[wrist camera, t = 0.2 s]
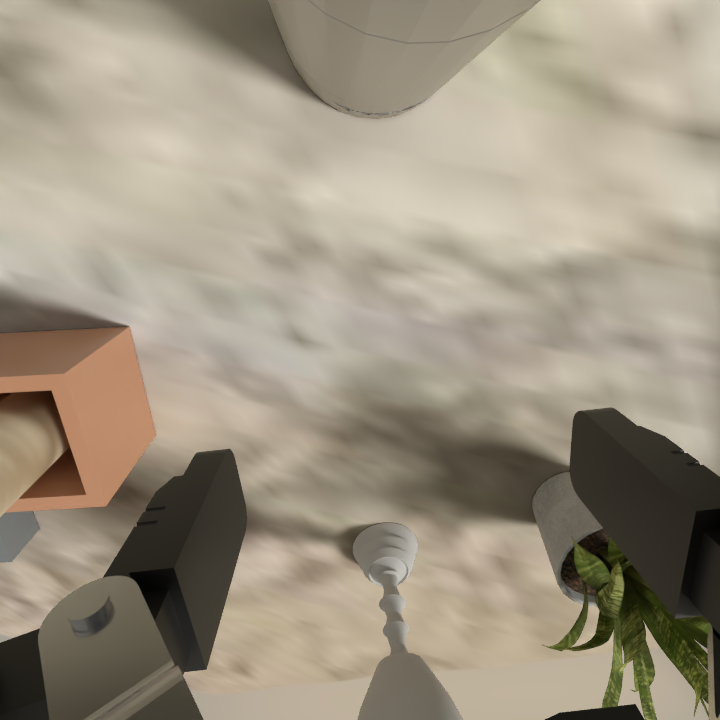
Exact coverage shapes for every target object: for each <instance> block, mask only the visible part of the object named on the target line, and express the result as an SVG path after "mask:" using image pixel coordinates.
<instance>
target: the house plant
mask: <svg viewBox="0 0 720 720" xmlns="http://www.w3.org/2000/svg"><path fill="white" fill-rule="evenodd" d="M532 508H533V513H534V516H535V519H536V522H537V525H538V528H539V530H540V533H541V536H542V539H543V542H544V545H545V548H546V551H547V554H548V557H549V560H550V562H551V565H552V568H553V571H554V574H555V577H556V580H557V583H558V585H559V587H560V588H561V590H562V592H563V593H564V594H565V595H566V596H568V597H569V598H570V599H571V600H573V601H575V602H578V603H580V604H583V609H582V611H581V613H580V615H579V617H578V619H577V621H576V623H575V625H574V626H573V627H572V629H571V630H570V632H569V633H568V634H567V635H566V636H565V637H564V638H563V639H562V640H561V641H560V642H559V643H558V644H556V645H553V646H550V647H548V646H546V647H548V648H551V649H555V650H559V651H563V650H565V649H566V650H572V651H581V650H586V649H590V648H594V647H597V646H600V645H602V644H604V643H605V642H607V641H608V640H609V638H610V636H611V635H612V632H613V629H614V645H613V662H612V670H611V674H610V678H609V683H608V686H607V689H606V692H605V696H604V699H603V703H602V708H606V707H615V706H617V705H618V701H619V697H620V693H621V688H622V677H623V669H624V668H625V666H626V665H627V663H629V662H630V661H632V660H633V666H634V682H635V688H636V691H638V690H639V693H640V699H641V704H642V709H643V714H644V717H645V720H657V718H656V714H655V710H654V706H653V702H652V698H651V693H650V688H649V686H650V685H651V683H652V682H653V680H654V676H655V670H654V664H653V661H652V657H651V655H650V651H649V648H648V645H647V642H646V630H645V625H644V622H645V624H646V625H647V627H648V629H649V630H650V632H651V634H652V635H653V637H654V639H655V640H656V642H657V643H658V645H659V646H660V647H661V649H662V650H663V651H664V653H665V654H666V655H667V657H668V658H669V659H670V660H671V662H672V663H673V664H674V665H675V666H676V668H677V669H678V670H679V671H680V672H681V674H682V675H683V676H684V677H685V679H686V680H687V681H688V683H689V684H690V685H691V686H692V688H693V689H694V690H695V693H696V706H695V711H694V715H695V712H696V709H697V706H698V703H699V699H700V700H701V702H702V704H703V706H704V708H705V710H706V712H707V715H708V717H709V713H708V711H707V708H706V706H705V704H704V701H703V699H704V700H705V701H706V702H707V703H708V704H709V701H708V672H707V671H706V670H705V669H704V667H705V668H706V669H707V670H708V654H707V653H706V652H705V651H704V650H703V649H702V648H701V647H700V645H699V644H698V643H697V642H699V643H700V644H701V645H703V646H704V647H706V648H707V649H708V645H707V639H708V633H709V629H710V623H709V622H708V621H707V620H706V618H705V617H704V616H695V617H687V618H678V619H675V618H674V617H673V616H672V615H671V613H670V612H669V611H668V610H667V608H666V607H665V606H664V604H663V603H662V602H661V601H660V599H659V598H658V597H657V596H656V594H655V593H654V592H653V591H652V589H651V588H650V587H649V586H648V584H647V583H646V582H645V581H644V579H643V578H642V577H641V575H640V574H639V573H638V572H637V570H636V569H635V568H634V567H633V565H632V564H631V563H630V562H629V560H628V559H627V558H626V557H625V555H624V554H623V553H622V551H621V550H620V549H619V548H618V546H617V545H616V544H615V543H614V541H613V540H612V539H611V538H610V536H609V535H608V534H607V533H606V531H605V530H604V529H603V527H602V526H601V525H600V524H599V522H598V521H597V520H596V519H595V517H594V516H593V515H592V514H591V512H590V511H589V510H588V509H587V507H586V506H585V505H584V504H583V502H582V501H581V500H580V498H579V497H578V496H577V494H576V492H575V490H574V488H573V486H572V482H571V478H570V472H564V473H561V474H557V475H555V476H553V477H551V478H549V479H548V480H547V481H545V482H544V483H543V484H542V485H541V486H540V487H539V488H538V490H537V491H536V493H535V495H534V497H533V502H532ZM588 606H596V607H598V608H599V610H600V613H599V619H598V624H597V629H596V634H595V635H594V637H593V638H592V639H591V640H590V641H588V642H587V643H585V644H582V645H580V646H576V647H571V646H572V645H574V644H575V643H576V641H577V640H578V638H579V637H580V635H581V633H582V630H583V628H584V625H585V622H586V619H587V613H588ZM643 620H644V622H643ZM694 639H695V640H696V641H697V642H696V641H695V640H694ZM541 645H542V644H541ZM544 646H545V645H544ZM622 646H623V650H624V664H622ZM570 647H571V648H570ZM693 654H694V655H693ZM695 657H696V658H697V659H698V660H699V661H700V662H701V664H702V665H703V666H704V667H703V666H702V665H701V664H700V663H699V661H698V660H697V659H696V658H695ZM632 691H634V690H632ZM636 691H634V692H636ZM702 698H703V699H702Z"/></svg>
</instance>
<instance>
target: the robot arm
mask: <svg viewBox="0 0 720 720" xmlns="http://www.w3.org/2000/svg"><path fill="white" fill-rule="evenodd" d="M539 1H540V0H268V2H269V5H270V8H271V10H272V13H273V15H274V18H275V21H276V24H277V26H278V29H279V31H280V34H281V37H282V39H283V42H284V44H285V47H286V49H287V51H288V54H289V56H290V58H291V60H292V62H293V64H294V67H295V69H296V70H297V72H298V73H299V75H300V76H301V77H302V79H303V80H304V82H305V83H306V84H307V86H308V87H309V88H310V89H311V90H312V91H313V92H314V93H315V94H316V95H317V96H318V97H319V98H320V99H322V100H323V101H324V102H325V103H327V104H329V105H330V106H332V107H334V108H335V109H337V110H339V111H340V112H343V113H347V114H350V115H353V116H356V117H360V118H372V119H379V118H386V117H392V116H397V115H399V114H401V113H404V112H406V111H409V110H411V109H413V108H415V107H416V106H418V105H419V104H421V103H423V102H424V101H425V100H426V99H428V98H429V97H430V96H431V95H433V94H434V93H435V92H436V91H437V90H438V89H439V88H441V87H442V86H443V85H444V84H446V83H447V82H448V81H449V80H450V79H451V78H452V77H454V76H455V75H456V74H457V73H458V72H459V71H460V70H462V69H463V68H464V67H465V66H466V65H467V64H468V63H470V62H471V61H472V60H473V59H474V58H475V57H476V56H478V55H479V54H480V53H481V52H482V51H483V50H484V49H485V48H487V47H488V46H489V45H490V44H491V43H492V42H493V41H495V40H496V39H497V38H498V37H499V36H500V35H501V34H503V33H504V32H505V31H506V30H507V29H508V28H509V27H510V26H512V25H513V24H514V23H515V22H516V21H517V20H518V19H520V18H521V17H522V16H523V15H524V14H525V13H526V12H528V11H529V10H530V9H531V8H532V7H533V6H534V5H535V4H537V3H538V2H539ZM570 478H571V482H572V486H573V488H574V490H575V492H576V494H577V496H578V497H579V498H580V500H581V501H582V502H583V504H584V505H585V506H586V507H587V509H588V510H589V511H590V512H591V514H592V515H593V516H594V517H595V519H596V520H597V521H598V522H599V524H600V525H601V526H602V527H603V529H604V530H605V531H606V533H607V534H608V535H609V536H610V538H611V539H612V540H613V541H614V543H615V544H616V545H617V546H618V548H619V549H620V550H621V551H622V553H623V554H624V555H625V557H626V558H627V559H628V560H629V562H630V563H631V564H632V565H633V567H634V568H635V569H636V570H637V572H638V573H639V574H640V575H641V577H642V578H643V579H644V581H645V582H646V583H647V584H648V586H649V587H650V588H651V589H652V591H653V592H654V593H655V594H656V596H657V597H658V598H659V599H660V601H661V602H662V603H663V604H664V606H665V607H666V608H667V610H668V611H669V612H670V613H671V615H672V616H673V617H674V618H675V619H678V618H687V617H695V616H704V617H705V618H706V620H707V621H708V622H709V623H710V629H709V633H708V639H707V645H708V701H709V720H720V477H719V476H718V475H716V474H715V473H714V472H712V471H711V470H710V469H708V468H707V467H706V466H704V465H700V464H699V461H697V460H696V459H695V458H693V457H692V456H691V455H689V454H688V453H684V450H683V449H681V448H680V447H678V446H677V445H676V444H674V443H673V442H672V441H670V440H669V439H668V438H666V437H665V436H663V435H660V434H658V433H656V432H653V431H651V430H648V429H646V428H644V427H641V426H637V425H635V424H634V423H633V422H632V421H630V420H629V419H628V418H626V417H625V416H624V415H622V414H621V413H620V412H619V411H617V410H616V409H614V408H603V409H594V410H585V411H578V412H577V413H576V414H575V416H574V419H573V428H572V442H571V455H570ZM246 521H247V515H246V505H245V500H244V496H243V491H242V487H241V483H240V478H239V474H238V470H237V465H236V461H235V457H234V454H233V452H232V451H231V450H230V449H224V450H215V451H206V452H198V453H196V454H195V455H194V457H193V459H192V461H191V463H190V464H189V466H188V468H187V470H186V471H185V473H184V475H183V476H176V477H173V478H172V479H171V480H170V481H168V482H167V483H166V484H165V485H164V486H163V487H161V488H160V489H159V490H158V491H157V492H156V493H155V495H154V496H153V498H152V499H151V501H150V503H149V504H148V506H147V507H146V512H143V514H142V516H141V517H140V519H139V520H138V522H137V527H134V528H133V530H132V532H131V533H130V535H129V536H128V538H127V540H126V541H125V543H124V545H123V546H122V548H121V549H120V551H119V553H118V554H117V556H116V557H115V559H114V561H113V562H112V564H111V565H110V567H109V569H108V570H107V572H106V573H105V575H104V577H103V578H100V579H97V580H95V581H92V582H90V583H88V584H85V585H83V586H82V587H80V588H78V589H76V590H75V591H73V592H72V593H70V594H69V595H67V596H66V597H65V598H64V599H62V600H61V601H60V602H59V603H58V604H57V605H56V606H55V607H54V608H53V609H52V610H51V611H50V613H49V614H48V615H47V616H46V618H45V620H44V621H43V623H42V625H41V627H40V629H37V630H35V631H32V632H29V633H26V634H23V635H21V636H18V637H15V638H12V639H10V640H7V641H4V642H1V643H0V720H203V718H202V715H201V713H200V711H199V709H198V707H197V705H196V703H195V701H194V698H193V696H192V694H191V692H190V689H189V687H188V685H187V683H186V681H185V679H184V677H183V674H184V672H189V671H198V670H206V669H207V666H208V662H209V659H210V655H211V651H212V648H213V644H214V641H215V637H216V634H217V630H218V627H219V623H220V620H221V616H222V612H223V609H224V605H225V602H226V598H227V595H228V591H229V588H230V584H231V581H232V577H233V573H234V570H235V566H236V563H237V559H238V556H239V552H240V549H241V545H242V542H243V538H244V534H245V530H246ZM545 720H644V718H643V716H642V715H641V713H640V711H639V710H638V708H637V706H636V705H635V704H633V705H624V706H615V707H606V708H599V709H589V710H580V711H571V712H562V713H558V714H556V715H554V716H552V717H550V718H548V719H545Z"/></svg>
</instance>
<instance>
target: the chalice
mask: <svg viewBox="0 0 720 720" xmlns="http://www.w3.org/2000/svg"><path fill="white" fill-rule="evenodd" d="M417 550H418V542H417V539H416V536H415V535H414V534H413V533H412V532H411V530H410V529H408V528H406V527H404V526H402V525H399V524H395V523H379V524H376V525H372V526H370V527H368V528H367V529H365V530H363V531H362V532H361V533H360V534H359V535H358V536H357V537H356V539H355V541H354V544H353V555H354V557H355V560H356V561H357V562H358V563H359V566H360V568H361V569H362V570H363V572H364V574H365V576H366V577H367V578H368V579H369V580H370V581H371V582H373V583H374V584H376V585H378V586H382V587H383V588H384V596H383V598H382V599H381V600H380V602H379V606H380V609H382V610H383V611H384V612H385V613H386V615H387V622H386V625H385V626H384V628H383V633H384V635H385V636H386V637H387V638H388V641H389V644H390V647H391V655H389V656H387V657H385V658H384V659H383V660H381V661H380V662H379V664H378V666H377V668H376V671H375V673H374V676H373V678H372V681H371V683H370V686H369V688H368V691H367V693H366V696H365V699H364V701H363V703H362V706H361V709H360V712H359V716H358V720H463V718H462V716H461V715H460V713H459V711H458V709H457V708H456V706H455V704H454V702H453V701H452V699H451V697H450V695H449V694H448V692H447V691H446V690H445V688H444V687H443V686H442V684H441V683H440V682H439V680H438V679H437V678H436V676H435V675H434V674H433V672H432V671H431V669H430V668H429V667H428V665H427V664H426V663H425V661H424V660H423V659H422V658H421V657H420V656H418V655H415V654H412V653H408V652H407V649H406V635H407V633H408V631H409V627H408V625H407V624H406V623H405V622H404V621H403V618H402V616H401V613H402V609H403V608H404V607H405V605H406V600H405V598H404V597H402V596H400V594H399V592H398V589H397V585H398V584H400V583H402V582H403V581H404V580H405V579H406V578H407V577H408V576H409V574H410V572H411V570H412V567H413V563H414V561H415V555H416V553H417Z"/></svg>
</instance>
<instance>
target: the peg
mask: <svg viewBox="0 0 720 720" xmlns="http://www.w3.org/2000/svg"><path fill="white" fill-rule="evenodd" d="M69 447H70V444H69V441H68V438H67V435H66V432H65V429H64V426H63V423H62V420H61V417H60V414H59V411H58V408H57V405H56V402H55V399H54V396H53V393H52V390H49V391H30V392H13V393H12V394H10V395H9V396H7V397H6V398H4V399H3V400H1V401H0V517H1V516H2V515H3V514H4V513H5V512H6V511H7V510H8V509H9V508H10V507H11V506H12V505H13V504H14V503H15V502H16V501H17V500H18V499H19V498H20V497H21V496H22V495H23V494H24V493H25V492H26V491H27V490H28V489H29V488H30V487H31V486H32V485H33V484H34V483H35V482H36V481H37V480H38V479H39V478H40V477H41V475H42V474H43V473H44V472H45V471H46V470H47V469H48V468H49V467H50V466H51V465H52V464H53V463H54V462H55V461H56V460H57V459H58V458H59V457H60V456H61V455H62V454H63V453H64V452H65V451H66V450H67V449H68V448H69Z"/></svg>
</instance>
